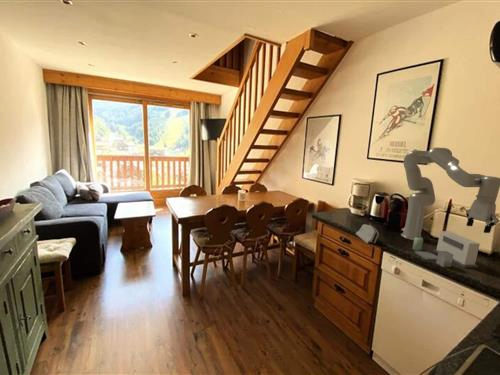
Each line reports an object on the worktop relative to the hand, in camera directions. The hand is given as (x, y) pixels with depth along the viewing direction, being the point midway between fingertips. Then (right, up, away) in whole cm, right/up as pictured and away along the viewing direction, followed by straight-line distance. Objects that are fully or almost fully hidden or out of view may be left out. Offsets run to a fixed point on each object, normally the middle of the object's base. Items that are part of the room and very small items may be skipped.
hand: (477, 229), depth 136 cm
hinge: (-48, -11, +28) cm, 57 cm away
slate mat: (-24, -16, +6) cm, 29 cm away
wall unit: (-10, -18, +4) cm, 21 cm away
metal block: (-22, -18, -4) cm, 29 cm away
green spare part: (-24, -15, +14) cm, 32 cm away
